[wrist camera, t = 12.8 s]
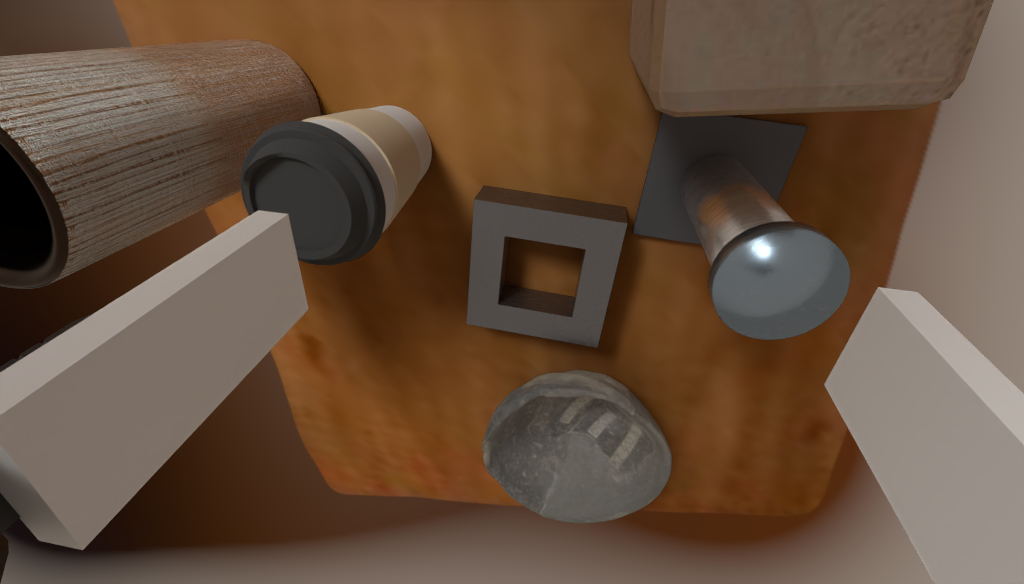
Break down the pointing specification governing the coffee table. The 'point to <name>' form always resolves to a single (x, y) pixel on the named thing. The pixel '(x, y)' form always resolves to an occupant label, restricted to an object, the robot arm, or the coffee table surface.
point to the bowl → (577, 448)
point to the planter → (128, 143)
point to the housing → (547, 223)
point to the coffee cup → (337, 178)
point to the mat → (691, 138)
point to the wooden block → (802, 54)
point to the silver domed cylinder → (760, 254)
